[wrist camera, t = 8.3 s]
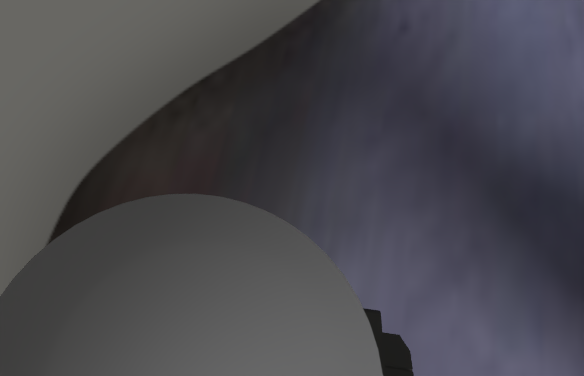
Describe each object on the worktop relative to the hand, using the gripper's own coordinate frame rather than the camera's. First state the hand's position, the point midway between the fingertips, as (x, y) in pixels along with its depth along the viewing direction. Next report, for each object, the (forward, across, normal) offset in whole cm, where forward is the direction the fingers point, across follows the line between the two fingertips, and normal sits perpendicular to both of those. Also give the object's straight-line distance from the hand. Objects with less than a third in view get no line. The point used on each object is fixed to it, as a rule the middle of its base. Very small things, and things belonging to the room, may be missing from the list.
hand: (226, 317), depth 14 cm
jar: (+2, 0, +5) cm, 5 cm away
